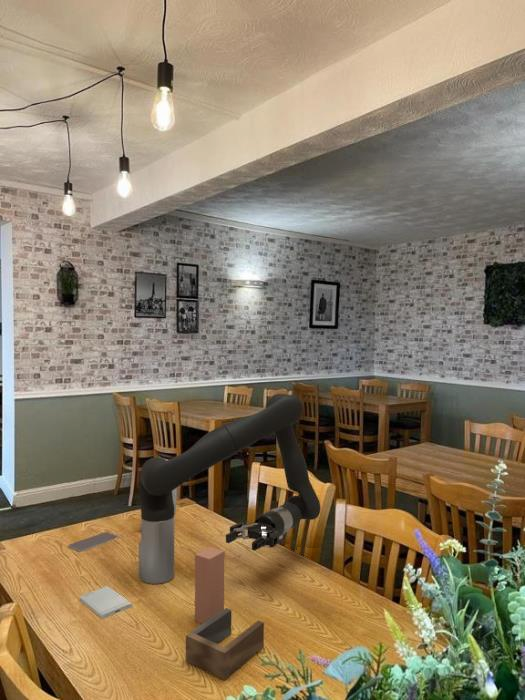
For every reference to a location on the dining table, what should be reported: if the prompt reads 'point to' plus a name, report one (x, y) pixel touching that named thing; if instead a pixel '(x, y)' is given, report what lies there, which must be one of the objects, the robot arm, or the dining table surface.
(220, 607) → the reddish pink rectangular block
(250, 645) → the book slot
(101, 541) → the smartphone
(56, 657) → the dining table surface
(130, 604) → the hard drive
